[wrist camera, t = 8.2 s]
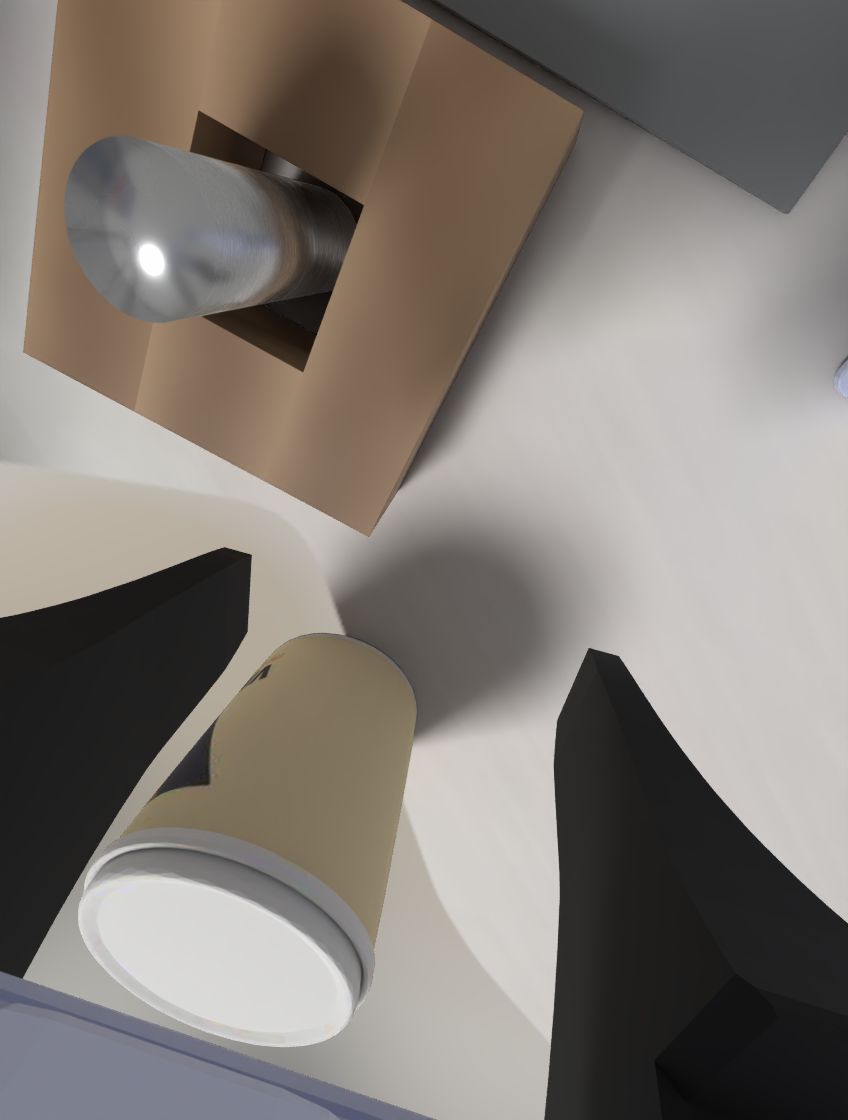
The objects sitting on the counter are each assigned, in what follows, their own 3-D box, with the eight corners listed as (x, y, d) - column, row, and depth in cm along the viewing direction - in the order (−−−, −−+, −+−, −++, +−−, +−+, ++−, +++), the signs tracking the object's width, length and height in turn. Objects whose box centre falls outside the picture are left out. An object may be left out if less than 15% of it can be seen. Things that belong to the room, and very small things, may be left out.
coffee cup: (261, 587, 25) (60, 822, 15) (461, 659, 25) (401, 949, 15) (236, 730, 30) (69, 985, 19) (405, 792, 30) (329, 1084, 19)
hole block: (576, 141, 16) (583, 110, 12) (397, 491, 22) (368, 536, 18) (184, -92, 15) (77, -194, 12) (109, 336, 21) (23, 352, 18)
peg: (376, 224, 18) (239, 205, 10) (332, 311, 19) (183, 354, 12) (294, 163, 17) (86, 94, 10) (255, 256, 19) (48, 262, 11)
